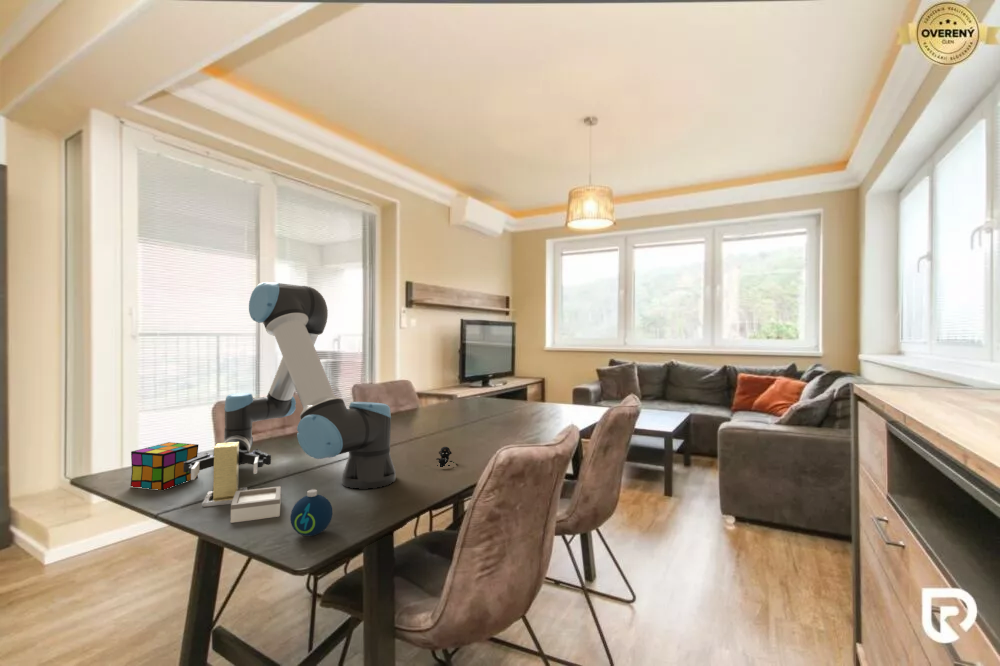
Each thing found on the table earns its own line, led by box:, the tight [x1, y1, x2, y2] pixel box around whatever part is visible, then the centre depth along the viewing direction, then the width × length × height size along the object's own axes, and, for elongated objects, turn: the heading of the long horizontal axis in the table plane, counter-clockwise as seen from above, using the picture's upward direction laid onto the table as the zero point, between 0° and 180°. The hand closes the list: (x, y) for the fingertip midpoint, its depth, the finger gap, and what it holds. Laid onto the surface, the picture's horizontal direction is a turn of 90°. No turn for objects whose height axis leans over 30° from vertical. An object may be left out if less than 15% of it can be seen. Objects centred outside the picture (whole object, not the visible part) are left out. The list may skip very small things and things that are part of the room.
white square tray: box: [230, 485, 282, 524], centre depth 110 cm, size 10×10×4 cm
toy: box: [130, 441, 199, 491], centre depth 130 cm, size 11×11×10 cm
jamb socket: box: [201, 486, 248, 508], centre depth 118 cm, size 9×9×1 cm
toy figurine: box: [435, 446, 455, 467], centre depth 151 cm, size 10×10×6 cm
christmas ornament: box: [289, 489, 334, 537], centre depth 98 cm, size 8×8×10 cm
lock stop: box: [212, 442, 240, 501], centre depth 118 cm, size 5×5×14 cm
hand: (224, 471), depth 115 cm, fingers open, 13 cm apart
